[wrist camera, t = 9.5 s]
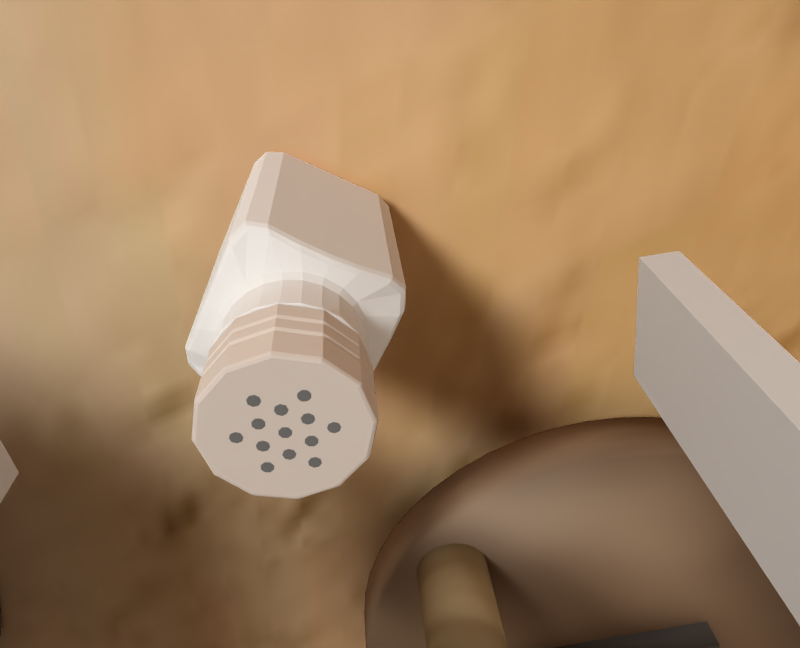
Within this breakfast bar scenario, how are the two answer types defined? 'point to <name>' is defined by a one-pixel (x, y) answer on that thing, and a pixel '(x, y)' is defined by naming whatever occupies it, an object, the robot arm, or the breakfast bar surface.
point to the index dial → (574, 553)
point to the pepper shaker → (295, 331)
